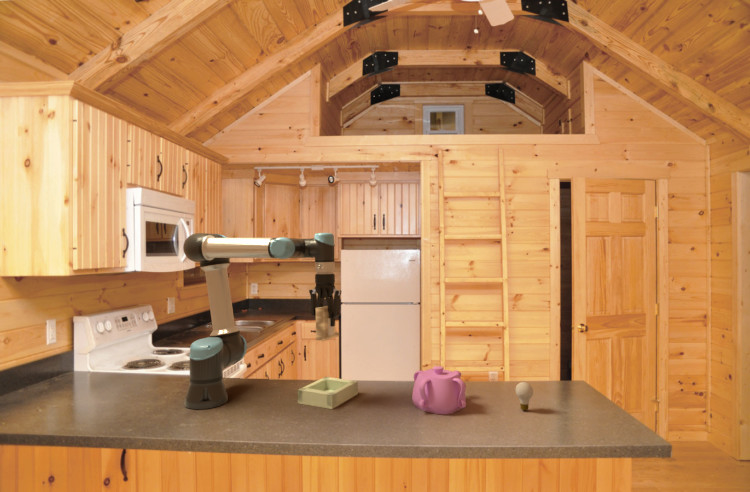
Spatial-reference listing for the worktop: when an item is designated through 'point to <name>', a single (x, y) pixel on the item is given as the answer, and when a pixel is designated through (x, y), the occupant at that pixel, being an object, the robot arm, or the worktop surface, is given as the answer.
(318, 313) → the wooden stepped block
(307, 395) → the well block
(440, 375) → the pink multi-handled pot
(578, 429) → the worktop surface
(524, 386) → the light bulb
